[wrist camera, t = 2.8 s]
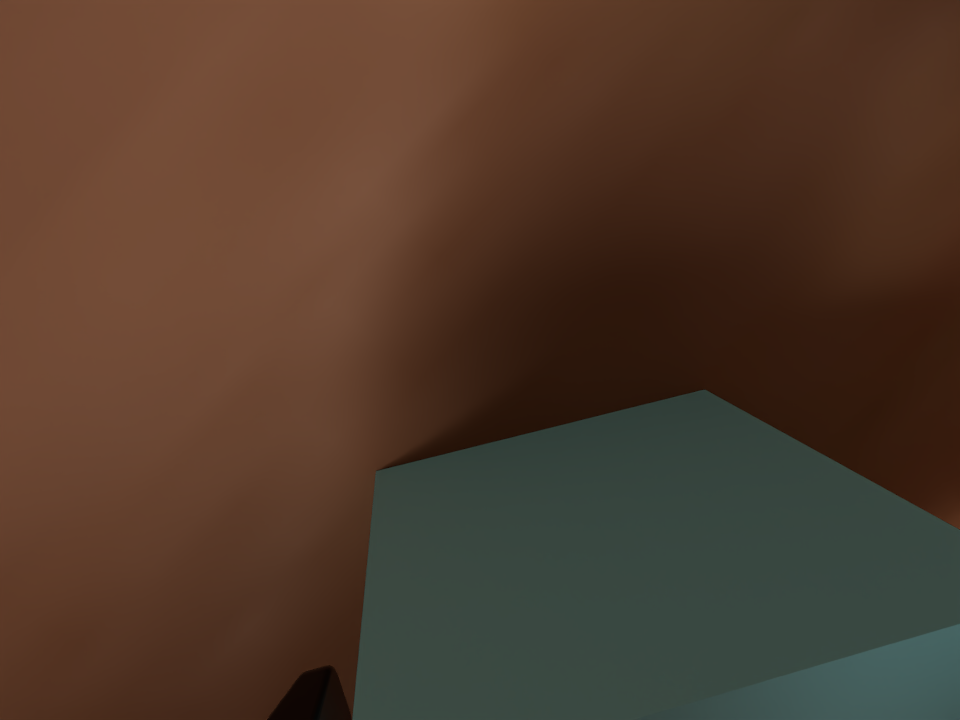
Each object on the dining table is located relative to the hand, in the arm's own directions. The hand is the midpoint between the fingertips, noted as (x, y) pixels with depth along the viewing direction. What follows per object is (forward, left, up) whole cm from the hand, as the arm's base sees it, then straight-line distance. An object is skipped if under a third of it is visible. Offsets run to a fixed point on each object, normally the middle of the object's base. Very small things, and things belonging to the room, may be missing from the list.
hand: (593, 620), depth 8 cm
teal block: (0, 0, -1) cm, 1 cm away
